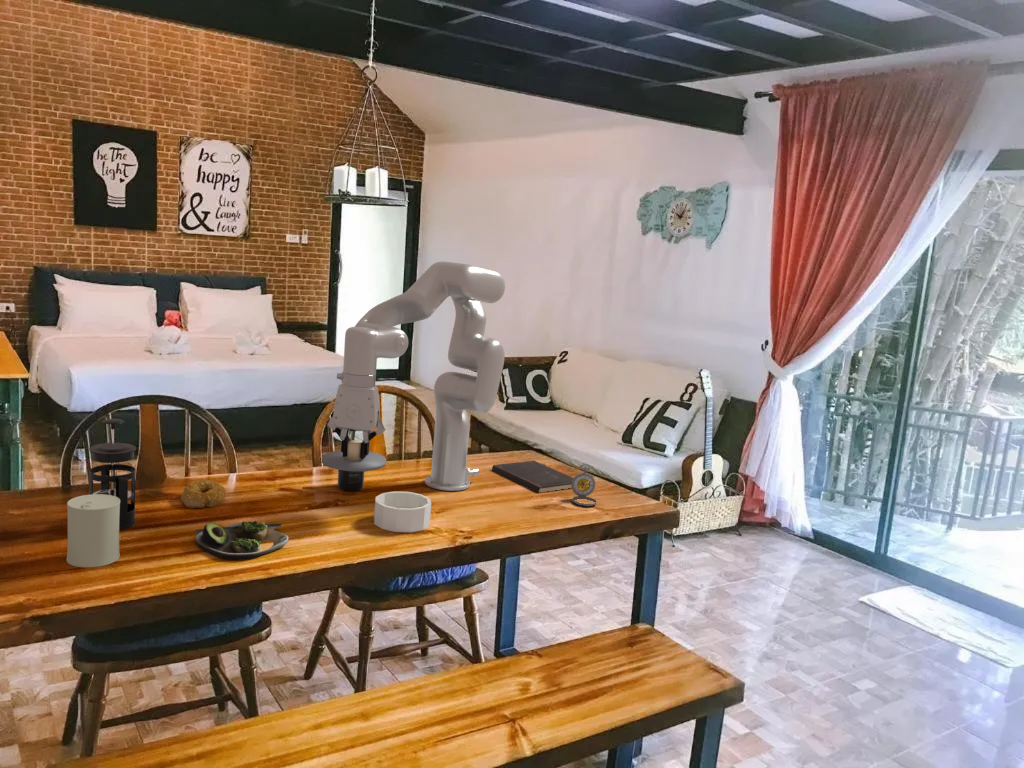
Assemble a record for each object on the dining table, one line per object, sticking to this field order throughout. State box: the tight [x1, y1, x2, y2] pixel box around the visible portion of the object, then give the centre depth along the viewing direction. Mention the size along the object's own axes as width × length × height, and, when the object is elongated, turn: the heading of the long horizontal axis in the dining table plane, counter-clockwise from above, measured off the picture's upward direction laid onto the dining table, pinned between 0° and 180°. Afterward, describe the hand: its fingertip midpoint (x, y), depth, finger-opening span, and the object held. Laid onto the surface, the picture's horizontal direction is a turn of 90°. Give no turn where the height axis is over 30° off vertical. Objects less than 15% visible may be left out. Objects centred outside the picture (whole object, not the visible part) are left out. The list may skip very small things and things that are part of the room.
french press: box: [88, 418, 137, 531], centre depth 174 cm, size 12×9×23 cm
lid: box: [321, 439, 387, 472], centre depth 192 cm, size 15×15×5 cm
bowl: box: [373, 491, 432, 533], centre depth 193 cm, size 13×13×6 cm
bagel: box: [180, 478, 227, 509], centre depth 194 cm, size 10×11×5 cm
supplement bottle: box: [337, 470, 365, 492], centre depth 215 cm, size 7×7×12 cm
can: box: [66, 494, 121, 568], centre depth 157 cm, size 9×9×12 cm
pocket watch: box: [571, 463, 598, 507], centre depth 222 cm, size 8×8×10 cm
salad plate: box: [192, 520, 290, 561], centre depth 173 cm, size 19×18×5 cm
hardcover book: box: [491, 460, 579, 494], centre depth 241 cm, size 16×23×2 cm
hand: (354, 455), depth 192 cm, fingers closed on lid, 3 cm apart
